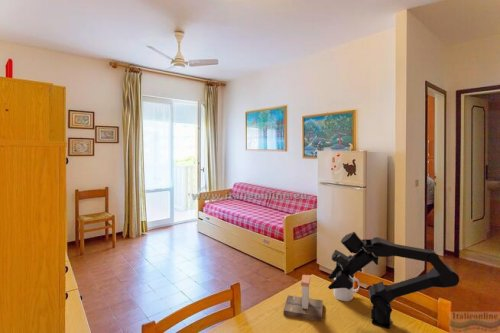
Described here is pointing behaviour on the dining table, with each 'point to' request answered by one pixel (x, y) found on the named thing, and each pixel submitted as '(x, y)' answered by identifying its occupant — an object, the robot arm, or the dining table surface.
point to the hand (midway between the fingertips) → (328, 283)
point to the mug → (346, 292)
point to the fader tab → (305, 290)
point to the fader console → (296, 310)
